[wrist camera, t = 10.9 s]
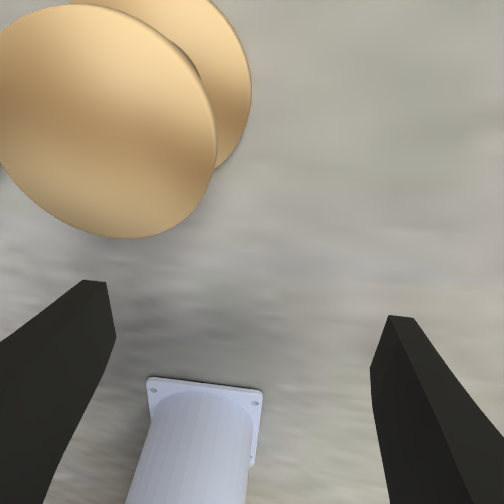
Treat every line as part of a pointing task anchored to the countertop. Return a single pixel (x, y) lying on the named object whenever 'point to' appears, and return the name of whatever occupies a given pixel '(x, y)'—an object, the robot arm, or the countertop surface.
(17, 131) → the bobbin
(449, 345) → the countertop surface
